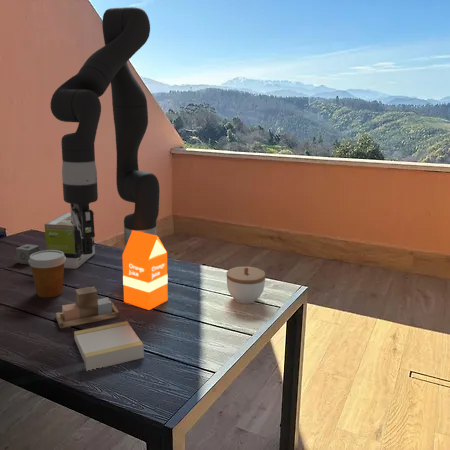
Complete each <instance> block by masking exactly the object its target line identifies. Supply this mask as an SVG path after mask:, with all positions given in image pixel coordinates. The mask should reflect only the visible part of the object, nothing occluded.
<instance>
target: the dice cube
mask: <svg viewBox="0 0 450 450" xmlns="http://www.w3.org/2000/svg"><path fill="white" fill-rule="evenodd" d="M15 251H16V262H17V263H18V264H22V265H29V266H30V264H29V263H28V260H29V259H30V255H31V254H33V253H35V252H39V251H41V250H40V245H36V244H29V243H26V244H24V245H21V246H19V247H16V249H15Z"/></svg>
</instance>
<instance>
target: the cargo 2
mask: <svg viewBox="0 0 450 450" xmlns="http://www.w3.org/2000/svg"><path fill="white" fill-rule="evenodd" d="M112 303H113V302H112V301H111V299H110V298H109V297H103V298H98V315H103V314H108V313H112Z"/></svg>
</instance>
